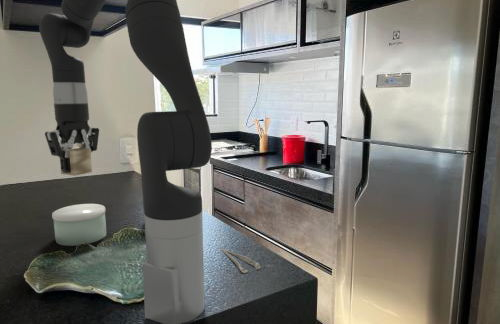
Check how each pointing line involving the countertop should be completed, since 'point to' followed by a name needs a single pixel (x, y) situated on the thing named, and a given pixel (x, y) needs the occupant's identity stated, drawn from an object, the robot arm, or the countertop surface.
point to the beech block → (79, 161)
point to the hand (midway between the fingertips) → (76, 170)
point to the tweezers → (241, 259)
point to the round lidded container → (79, 224)
